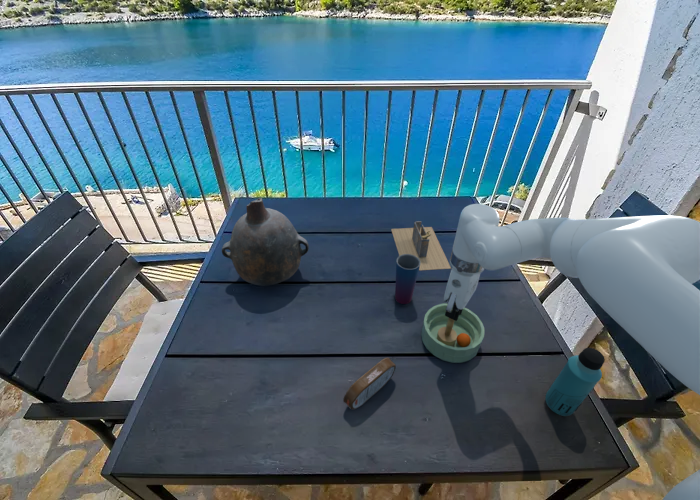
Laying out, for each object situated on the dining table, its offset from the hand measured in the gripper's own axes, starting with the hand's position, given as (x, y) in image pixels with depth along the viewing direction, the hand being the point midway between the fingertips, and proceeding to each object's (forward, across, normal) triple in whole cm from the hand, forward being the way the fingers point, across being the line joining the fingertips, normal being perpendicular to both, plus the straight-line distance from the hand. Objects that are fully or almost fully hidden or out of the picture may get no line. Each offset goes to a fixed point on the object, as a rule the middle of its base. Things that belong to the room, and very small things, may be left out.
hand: (453, 314), depth 87 cm
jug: (+12, -9, +59) cm, 60 cm away
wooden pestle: (+11, 0, 0) cm, 11 cm away
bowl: (+12, +2, 0) cm, 12 cm away
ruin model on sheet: (+12, +34, +26) cm, 44 cm away
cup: (+12, +8, +18) cm, 23 cm away
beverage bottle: (+12, -1, -28) cm, 31 cm away
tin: (+12, -24, +9) cm, 28 cm away
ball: (+10, +2, -4) cm, 11 cm away
